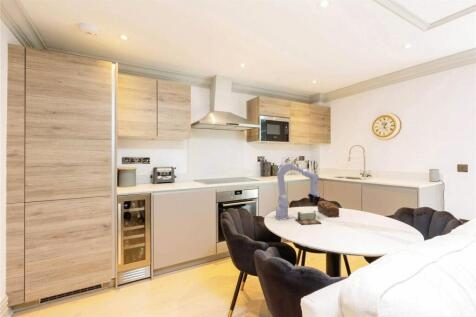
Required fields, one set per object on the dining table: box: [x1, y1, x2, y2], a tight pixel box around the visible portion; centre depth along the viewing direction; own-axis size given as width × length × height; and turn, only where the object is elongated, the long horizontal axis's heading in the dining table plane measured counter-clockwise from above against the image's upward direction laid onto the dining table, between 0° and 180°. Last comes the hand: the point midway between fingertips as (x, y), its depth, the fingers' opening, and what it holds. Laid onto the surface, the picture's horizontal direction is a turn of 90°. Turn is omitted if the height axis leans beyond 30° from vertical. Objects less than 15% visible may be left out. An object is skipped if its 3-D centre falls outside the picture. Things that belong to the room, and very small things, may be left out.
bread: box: [316, 200, 340, 218], centre depth 192 cm, size 19×11×10 cm, turn 4°
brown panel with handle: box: [294, 210, 322, 226], centre depth 171 cm, size 16×12×7 cm
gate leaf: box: [300, 211, 315, 220], centre depth 173 cm, size 11×2×5 cm, turn 99°
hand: (313, 203), depth 186 cm, fingers open, 7 cm apart
